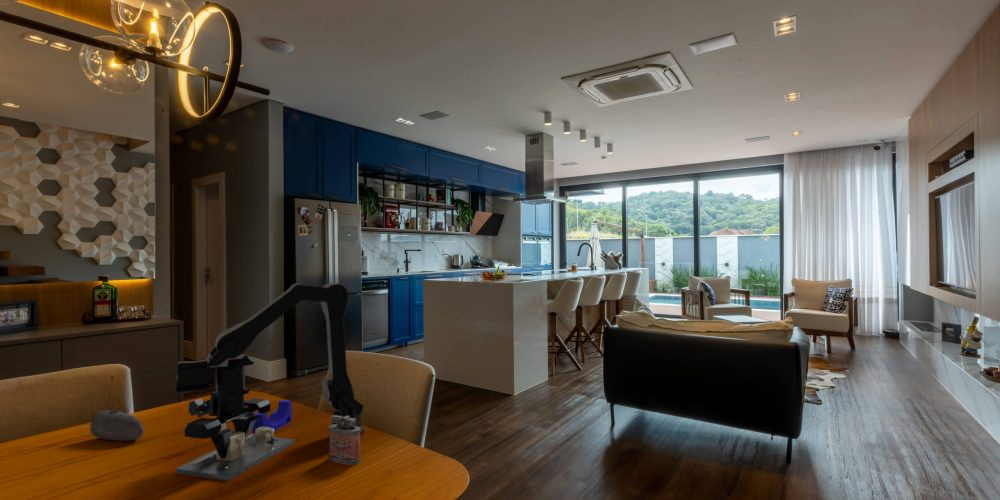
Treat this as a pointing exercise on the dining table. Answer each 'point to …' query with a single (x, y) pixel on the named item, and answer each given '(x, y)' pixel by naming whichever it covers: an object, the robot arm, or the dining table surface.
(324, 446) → the dining table surface
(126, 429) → the perforated stone tool
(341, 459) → the lighter
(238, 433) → the block
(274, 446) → the drilled plate
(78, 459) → the dining table surface
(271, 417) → the cable clip
